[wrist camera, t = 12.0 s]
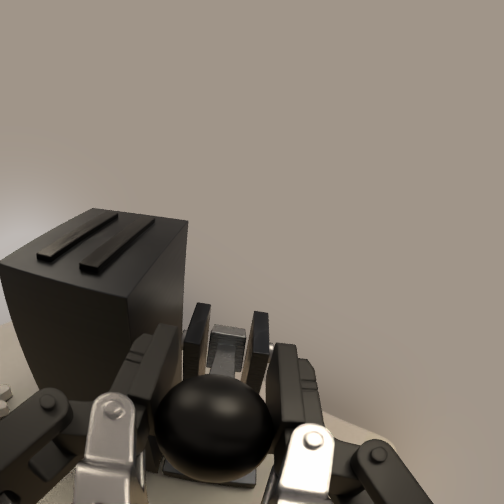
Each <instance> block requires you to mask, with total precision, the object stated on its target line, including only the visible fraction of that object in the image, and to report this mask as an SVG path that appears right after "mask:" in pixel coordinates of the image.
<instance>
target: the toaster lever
mask: <svg viewBox="0 0 504 504" xmlns="http://www.w3.org/2000/svg"><path fill="white" fill-rule="evenodd" d="M245 343H246V332H245V329H242V328H235V327H229V326H223V325H216V324H215V325H214V327H213V329H212V331H211V334H210V341H209V348H208V356H207V364H206V367H208V368H211V369H210V372H209V374H204V375H198V376H194V377H191V378H188V379H186V380H184V381H182V382H180V383H178V384H177V385H175V386H174V387H173V388H171V389H170V390H169V391H168V392H167V393H166V395H165V396H164V397H163V399H162V400H161V402H160V404H159V406H158V408H157V411H156V415H155V422H154V432H155V437H156V441H157V444H158V446H159V449H160V451H161V452H162V454H163V455H164V457H165V458H166V460H167V461H168V462H169V463H170V464H171V465H172V466H173V467H174V468H175V469H177V470H178V471H180V472H181V473H183V474H184V475H186V476H188V477H190V478H193V479H196V480H199V481H204V482H211V483H222V482H229V481H233V480H236V479H239V478H242V477H244V476H245V475H247V474H249V473H251V472H252V471H253V470H254V469H256V468H257V467H258V466H259V465H260V464H261V462H262V461H263V460H264V459H265V457H266V455H267V454H268V452H269V450H270V447H271V444H272V439H273V422H272V417H271V414H270V412H269V409H268V407H267V405H266V404H265V402H264V400H263V399H262V398H261V397H260V395H259V394H258V393H257V392H256V391H255V390H254V389H252V388H251V387H250V386H248V385H247V384H245V383H244V382H242V381H239V380H237V379H235V372H241V368H242V362H243V356H244V349H245Z"/></svg>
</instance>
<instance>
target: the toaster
mask: <svg viewBox="0 0 504 504" xmlns="http://www.w3.org/2000/svg"><path fill="white" fill-rule="evenodd" d="M187 232H188V221H186V220H179V219H172V218H164V217H157V216H150V215H143V214H135V213H127V212H120V211H112V210H104V209H95V208H92V209H90V210H88V211H86V212H84V213H82V214H80V215H78V216H76V217H74V218H72V219H70V220H69V221H67V222H65V223H63V224H61V225H59V226H58V227H56V228H54V229H52V230H50V231H48V232H47V233H45V234H43V235H41V236H40V237H38V238H36V239H34V240H33V241H31V242H30V243H28V244H26V245H24V246H23V247H21V248H20V249H18V250H16V251H15V252H13V253H12V254H10V255H8V256H7V257H5V258H4V259H2V260H0V279H1V283H2V287H3V291H4V295H5V299H6V302H7V306H8V310H9V313H10V316H11V319H12V322H13V326H14V329H15V331H16V334H17V337H18V340H19V343H20V345H21V348H22V351H23V353H24V356H25V358H26V360H27V363H28V365H29V368H30V370H31V372H32V374H33V377H34V379H35V381H36V383H37V385H38V387H39V389H40V390H41V389H44V388H56V389H58V390H60V391H62V392H63V393H64V394H65V395H66V397H67V399H68V400H74V401H94V400H95V399H96V398H97V397H98V396H100V395H102V394H104V393H108V392H109V390H110V389H111V386H112V384H113V382H114V380H115V378H116V376H117V374H118V372H119V370H120V368H121V366H122V364H123V362H124V360H125V358H126V356H127V354H128V352H129V350H130V348H131V346H132V344H133V342H134V341H135V340H136V339H137V338H138V337H140V336H141V335H142V334H144V333H146V334H150V335H153V334H154V332H155V330H156V328H157V326H158V324H159V323H162V324H167V325H172V326H177V327H179V357H178V364H177V369H176V372H175V376H174V379H173V382H172V385H171V388H173V387H174V386H175V385H177V384H178V383H180V382H182V350H181V348H180V343H181V336H182V318H183V293H184V273H185V258H186V244H187ZM162 455H163V454H162V452H161V451H160V449H159V446H158V444H157V441H156V437H155V436H153V435H148V438H147V441H146V445H145V458H146V471H150V472H153V473H158V470H159V466H160V462H161V458H162Z"/></svg>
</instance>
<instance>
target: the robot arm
mask: <svg viewBox="0 0 504 504" xmlns="http://www.w3.org/2000/svg"><path fill="white" fill-rule="evenodd" d="M178 357H179V327H177V326H172V325H167V324H162V323H159V324H158V326H157V328H156V330H155V332H154V334H153V335H150V334H146V333H144V334H142V335H141V336H140V337H138V338H137V339H136V340H135V341H134V342H133V344H132V346H131V348H130V350H129V352H128V354H127V356H126V358H125V360H124V362H123V364H122V366H121V368H120V370H119V372H118V374H117V376H116V378H115V380H114V382H113V384H112V386H111V389H110V390H109V392H108V393H104V394H102V395H100V396H98V397H97V398H96V399H95V400H94V401H74V400H68V399H67V397H66V395H65V394H64V393H63V392H62V391H60V390H58V389H56V388H44V389H41V390H39V391H38V392H36V393H35V394H34V395H32V396H31V397H30V398H28V399H27V400H26V401H25V402H23V403H22V404H21V405H20V406H18V407H17V408H16V409H14V410H13V411H12V412H11V413H9V414H8V415H7V416H6V417H4V418H3V419H2V420H0V504H36V503H37V502H38V501H39V500H41V499H42V498H43V497H44V496H45V495H46V494H47V493H48V492H49V491H50V490H51V489H52V488H53V487H54V486H55V485H56V484H57V483H58V482H59V481H60V480H61V479H63V478H64V477H65V476H66V475H67V474H68V473H69V472H70V471H71V470H72V469H73V468H74V467H75V466H76V465H77V466H76V470H75V479H74V492H73V504H149V502H148V497H147V490H146V458H145V445H146V441H147V438H148V435H153V436H155V432H154V422H155V415H156V411H157V408H158V406H159V404H160V402H161V400H162V399H163V397H164V396H165V395H166V393H167V392H168V391H169V390H170V389H171V385H172V382H173V379H174V376H175V372H176V369H177V364H178ZM266 405H267V407H268V409H269V412H270V414H271V417H272V422H273V439H272V444H271V447H270V450H269V452H268V454H274V465H273V466H272V469H271V472H270V475H269V479H268V482H267V485H266V489H265V492H264V495H263V498H262V501H261V504H333V503H334V504H433V502H432V501H431V500H430V499H429V497H428V496H427V494H426V493H425V492H424V490H423V489H422V488H421V486H420V485H419V483H418V482H417V481H416V479H415V478H414V477H413V475H412V474H411V472H410V471H409V470H408V468H407V467H406V466H405V464H404V463H403V462H402V460H401V459H400V458H399V456H398V455H397V453H396V452H395V451H394V449H393V448H392V447H391V446H390V445H389V444H388V443H386V442H385V441H382V440H378V439H372V440H368V441H366V442H364V443H363V444H362V445H361V446H360V445H356V444H351V443H347V442H343V441H340V440H338V439H336V438H334V437H333V435H332V434H331V432H330V431H329V430H328V429H326V428H325V425H324V421H323V415H322V410H321V404H320V398H319V393H318V387H317V382H316V376H315V370H314V368H313V367H312V365H311V364H310V362H309V361H308V360H307V359H300V358H298V356H297V348H296V345H293V344H285V343H276V344H275V346H274V350H273V353H272V357H271V360H270V363H269V367H268V370H267V375H266ZM82 459H83V460H82ZM328 495H329V497H330V498H331V499H329V497H328Z"/></svg>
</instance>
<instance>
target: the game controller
mask: <svg viewBox="0 0 504 504" xmlns="http://www.w3.org/2000/svg"><path fill="white" fill-rule="evenodd" d="M11 396H12V392H11V389H10V386H9V385H7V384H3V385H0V417H3V416H7V415H8V414H9V409H8V406H7V404H6V402H5V401H6V400H7V399H9V398H10V397H11Z"/></svg>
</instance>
